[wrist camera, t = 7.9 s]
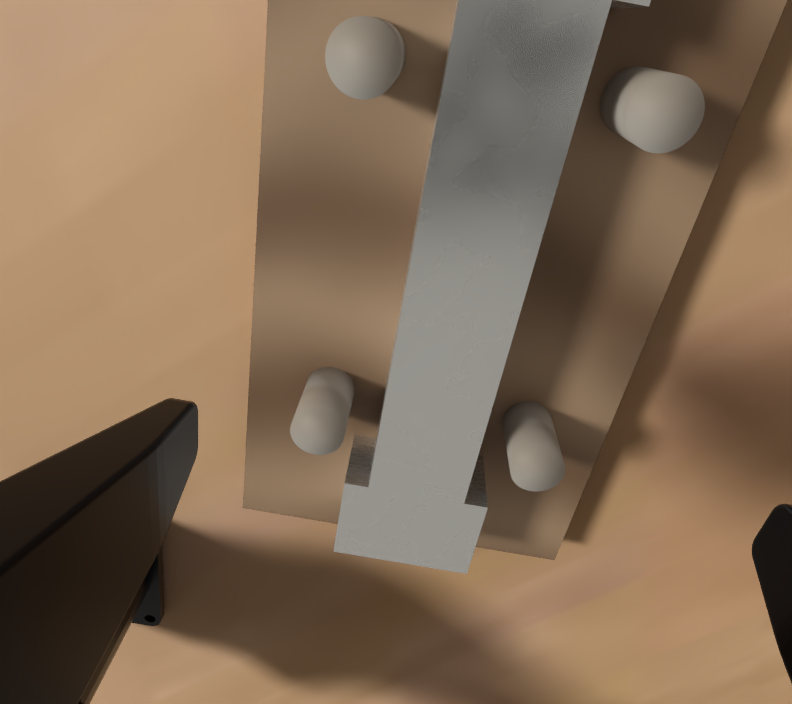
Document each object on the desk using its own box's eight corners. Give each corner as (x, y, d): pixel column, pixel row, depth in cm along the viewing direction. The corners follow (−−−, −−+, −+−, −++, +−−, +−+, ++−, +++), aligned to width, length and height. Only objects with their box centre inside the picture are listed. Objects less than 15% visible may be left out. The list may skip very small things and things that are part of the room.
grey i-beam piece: (464, 519, 22) (466, 573, 20) (343, 499, 22) (333, 551, 20) (664, -153, 13) (711, -189, 10) (455, -193, 13) (459, -239, 10)
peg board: (548, 530, 24) (566, 616, 21) (253, 481, 24) (221, 560, 20) (823, -167, 14) (957, -234, 10) (298, -271, 13) (248, -376, 10)
